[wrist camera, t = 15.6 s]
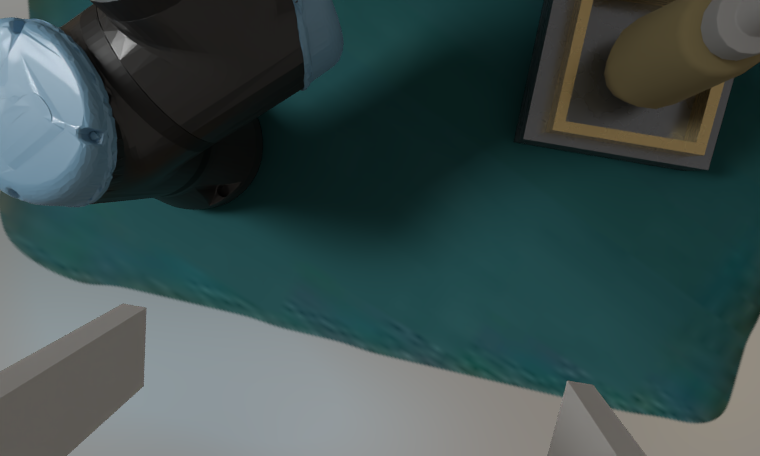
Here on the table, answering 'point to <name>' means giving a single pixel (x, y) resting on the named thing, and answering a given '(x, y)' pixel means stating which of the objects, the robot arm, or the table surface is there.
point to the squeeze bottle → (683, 51)
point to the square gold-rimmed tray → (608, 94)
